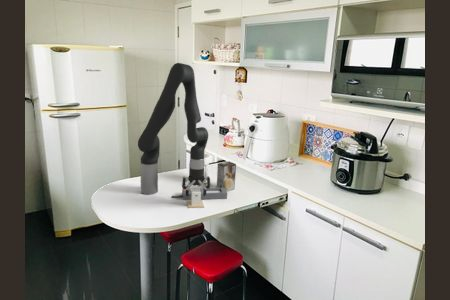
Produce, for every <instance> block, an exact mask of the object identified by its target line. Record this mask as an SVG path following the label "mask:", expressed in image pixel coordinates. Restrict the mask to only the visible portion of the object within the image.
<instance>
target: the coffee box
mask: <svg viewBox="0 0 450 300" xmlns="http://www.w3.org/2000/svg"><path fill="white" fill-rule="evenodd" d="M236 170H237V164H236V163H234V162H232V161H225V162H219V163H217V172H216V174H217V175H216V188H225V190H226V192H227V193H228V192H229V191H233V190H235V187H236V174H237V173H236Z"/></svg>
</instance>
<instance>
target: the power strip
mask: <svg viewBox="0 0 450 300" xmlns="http://www.w3.org/2000/svg"><path fill="white" fill-rule="evenodd" d="M191 189H200V191H201V200H202V201H203V200H204V201H207V200H227V199H228V191H227V192H226V190H225V188H217V187H210V188H208V189H206V195H205V196H203V187H197V188H196V187H190V188H189V189H188V190H189V196H188V197H187V196H186V190H185V189H183V188H182V189H181V190H182V192H181V195H171V198H172V199H173V198H178V199H179V198H182V201H187V200H191Z"/></svg>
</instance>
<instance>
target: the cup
mask: <svg viewBox="0 0 450 300" xmlns="http://www.w3.org/2000/svg"><path fill="white" fill-rule="evenodd" d="M210 159H211V155H210V154H208V153H206V152H204V177H207V176H209V175H208V174H209V164H210ZM203 183H204V185H207V181H206V180H204V181H203Z"/></svg>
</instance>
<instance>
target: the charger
mask: <svg viewBox="0 0 450 300" xmlns="http://www.w3.org/2000/svg"><path fill="white" fill-rule="evenodd" d="M191 205H201V191H200V189H191Z"/></svg>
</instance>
